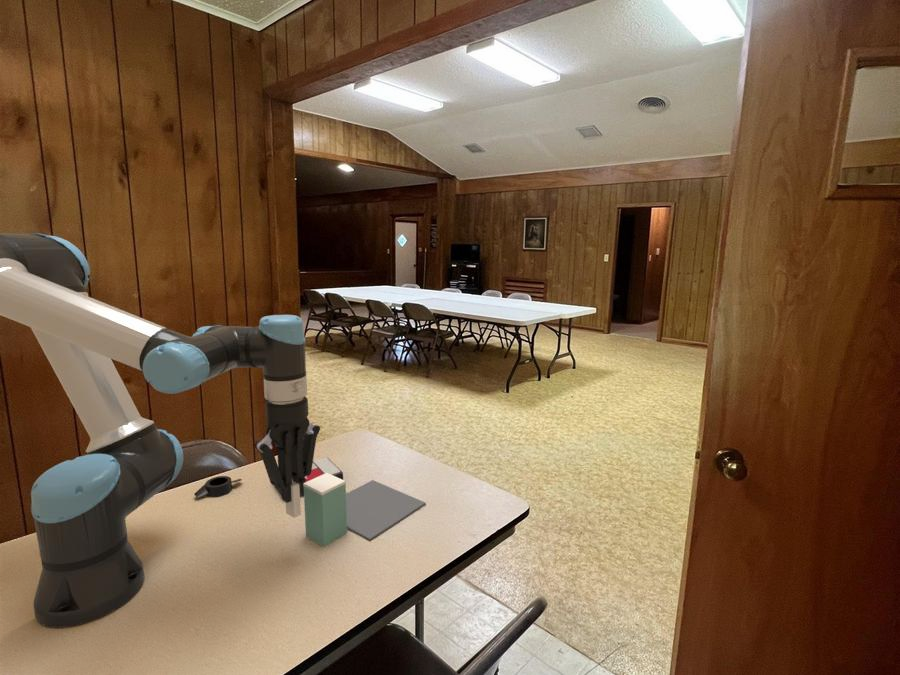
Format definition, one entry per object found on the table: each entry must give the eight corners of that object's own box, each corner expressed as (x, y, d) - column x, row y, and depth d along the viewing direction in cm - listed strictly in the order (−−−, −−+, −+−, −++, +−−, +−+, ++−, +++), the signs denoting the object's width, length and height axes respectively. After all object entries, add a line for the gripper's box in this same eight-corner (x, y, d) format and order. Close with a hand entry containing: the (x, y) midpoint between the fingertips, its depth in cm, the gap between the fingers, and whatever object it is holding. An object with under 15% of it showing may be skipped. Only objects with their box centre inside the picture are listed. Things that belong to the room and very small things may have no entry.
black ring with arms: (201, 487, 118) (200, 476, 118) (243, 482, 121) (242, 472, 120) (192, 502, 111) (191, 491, 110) (238, 497, 113) (237, 486, 113)
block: (306, 535, 98) (303, 483, 96) (328, 523, 103) (326, 472, 101) (324, 546, 95) (321, 492, 92) (347, 533, 99) (345, 481, 97)
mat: (315, 511, 107) (315, 509, 107) (372, 481, 121) (372, 480, 121) (370, 541, 97) (370, 539, 97) (425, 504, 111) (425, 502, 111)
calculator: (271, 471, 119) (327, 454, 128) (272, 486, 120) (328, 468, 129) (283, 489, 111) (343, 469, 119) (285, 505, 112) (344, 485, 120)
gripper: (265, 411, 79) (274, 536, 84) (327, 393, 90) (332, 506, 94) (242, 403, 84) (251, 522, 88) (304, 386, 94) (309, 494, 98)
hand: (293, 513), depth 91 cm, fingers closed
